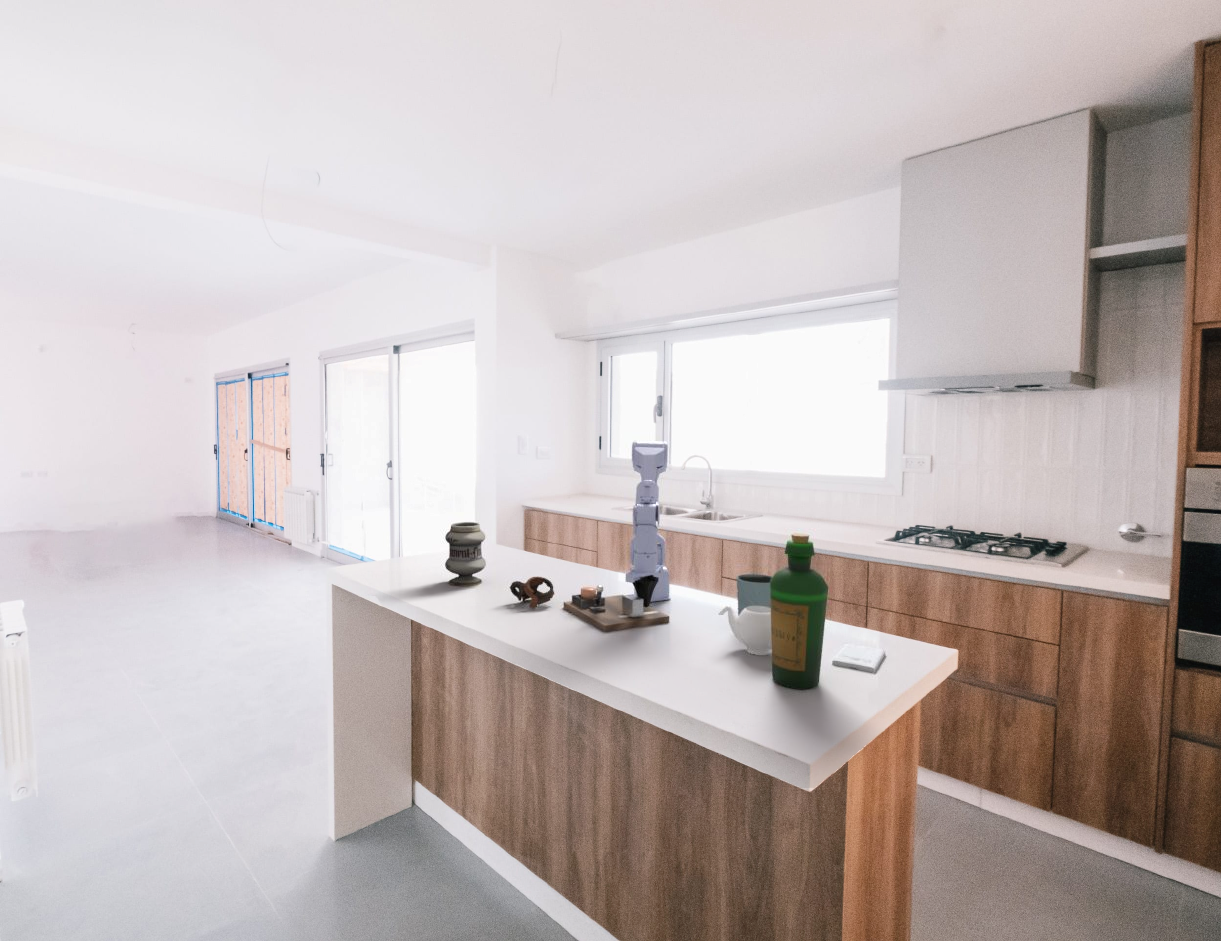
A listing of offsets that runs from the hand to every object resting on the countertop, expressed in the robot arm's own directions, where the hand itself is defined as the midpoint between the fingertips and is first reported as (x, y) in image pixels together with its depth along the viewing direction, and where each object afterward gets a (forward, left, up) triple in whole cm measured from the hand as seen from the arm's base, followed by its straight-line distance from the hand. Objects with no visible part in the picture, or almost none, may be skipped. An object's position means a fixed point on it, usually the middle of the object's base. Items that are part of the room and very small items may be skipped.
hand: (644, 606), depth 162 cm
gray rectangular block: (+3, 0, -2) cm, 4 cm away
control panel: (+4, -7, -3) cm, 9 cm away
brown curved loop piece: (+19, -26, -4) cm, 33 cm away
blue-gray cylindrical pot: (-22, +17, -4) cm, 28 cm away
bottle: (-5, +47, -4) cm, 47 cm away
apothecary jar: (+28, -57, -4) cm, 64 cm away
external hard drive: (-26, +44, -4) cm, 51 cm away
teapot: (-10, +31, -4) cm, 33 cm away
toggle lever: (+9, -7, 0) cm, 12 cm away
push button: (+8, -14, 0) cm, 16 cm away
